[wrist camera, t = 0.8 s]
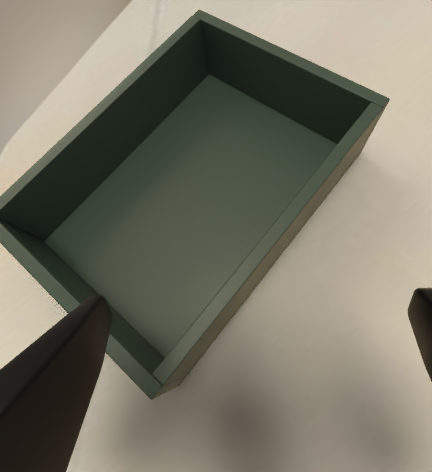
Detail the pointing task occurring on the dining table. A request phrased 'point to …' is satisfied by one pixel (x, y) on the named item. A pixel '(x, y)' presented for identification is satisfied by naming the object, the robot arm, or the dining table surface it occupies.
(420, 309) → the robot arm
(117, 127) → the green storage tray
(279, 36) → the dining table surface
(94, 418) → the dining table surface
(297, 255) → the dining table surface
